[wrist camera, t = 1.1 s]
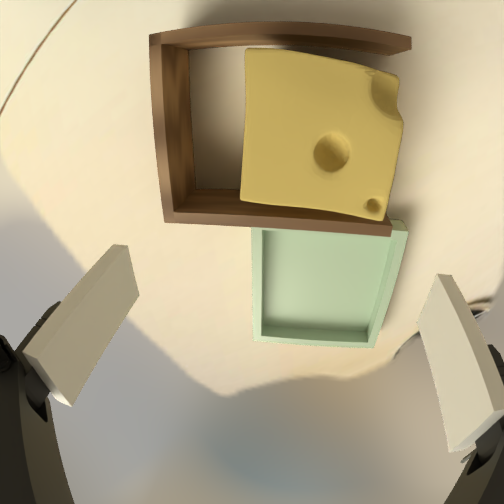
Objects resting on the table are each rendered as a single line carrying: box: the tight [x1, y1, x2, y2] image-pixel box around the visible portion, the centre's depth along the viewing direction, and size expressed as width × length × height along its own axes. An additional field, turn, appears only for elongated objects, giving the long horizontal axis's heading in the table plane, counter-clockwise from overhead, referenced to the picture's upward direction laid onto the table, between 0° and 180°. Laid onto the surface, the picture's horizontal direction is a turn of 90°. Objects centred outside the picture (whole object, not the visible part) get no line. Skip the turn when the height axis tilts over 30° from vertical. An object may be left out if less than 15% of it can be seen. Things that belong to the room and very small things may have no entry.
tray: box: [251, 219, 409, 348], centre depth 33 cm, size 16×15×2 cm
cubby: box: [149, 22, 411, 237], centre depth 23 cm, size 16×19×6 cm
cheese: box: [240, 48, 403, 221], centre depth 21 cm, size 10×11×10 cm
